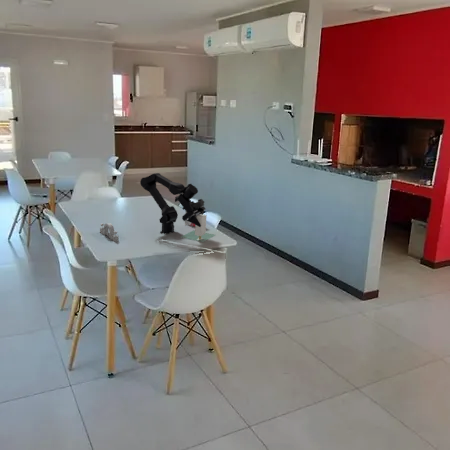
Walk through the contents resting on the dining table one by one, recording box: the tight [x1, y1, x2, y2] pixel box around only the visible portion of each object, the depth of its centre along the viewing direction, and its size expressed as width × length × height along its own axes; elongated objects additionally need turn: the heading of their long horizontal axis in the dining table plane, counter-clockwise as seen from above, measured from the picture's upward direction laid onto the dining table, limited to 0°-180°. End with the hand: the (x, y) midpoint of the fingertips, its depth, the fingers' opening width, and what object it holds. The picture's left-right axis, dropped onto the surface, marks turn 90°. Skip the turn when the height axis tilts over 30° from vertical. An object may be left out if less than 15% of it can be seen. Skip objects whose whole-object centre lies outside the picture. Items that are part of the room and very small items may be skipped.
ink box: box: [184, 209, 195, 227], centre depth 292 cm, size 8×5×12 cm, turn 55°
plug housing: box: [194, 213, 208, 236], centre depth 262 cm, size 4×6×11 cm, turn 157°
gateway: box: [99, 222, 119, 242], centre depth 260 cm, size 20×2×8 cm, turn 37°
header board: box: [179, 230, 216, 243], centre depth 269 cm, size 15×17×3 cm
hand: (202, 225), depth 261 cm, fingers closed on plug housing, 6 cm apart
